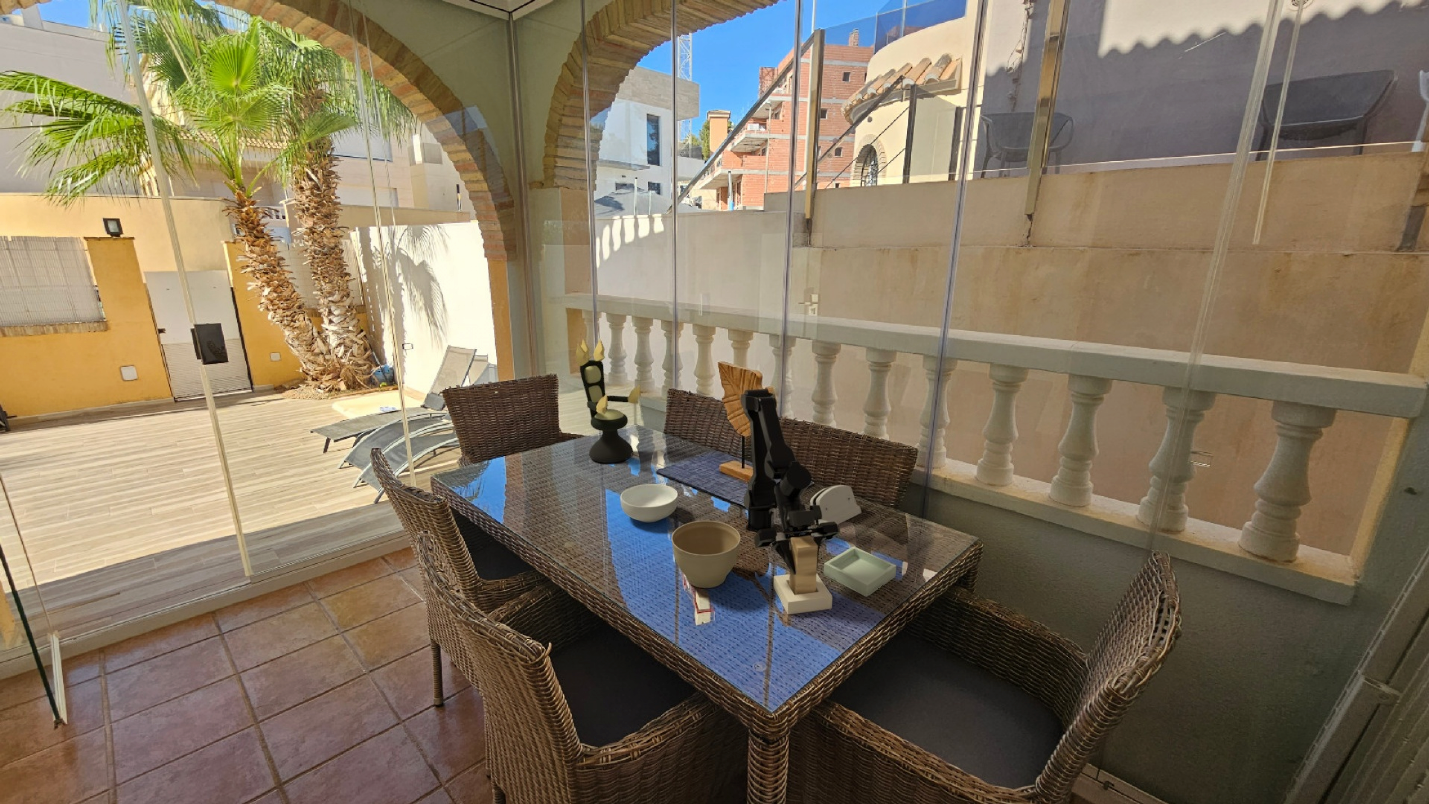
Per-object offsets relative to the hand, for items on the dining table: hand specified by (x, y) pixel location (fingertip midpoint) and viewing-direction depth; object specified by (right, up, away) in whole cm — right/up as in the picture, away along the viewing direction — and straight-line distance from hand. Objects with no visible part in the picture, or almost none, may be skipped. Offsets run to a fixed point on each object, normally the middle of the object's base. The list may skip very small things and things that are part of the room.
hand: (805, 573), depth 119 cm
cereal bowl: (-39, +3, +42) cm, 58 cm away
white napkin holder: (+15, +3, +41) cm, 44 cm away
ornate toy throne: (-62, +16, +92) cm, 112 cm away
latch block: (0, -6, +3) cm, 7 cm away
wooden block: (0, -6, +3) cm, 7 cm away
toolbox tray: (+15, -4, +11) cm, 19 cm away
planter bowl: (-22, -5, +11) cm, 25 cm away
